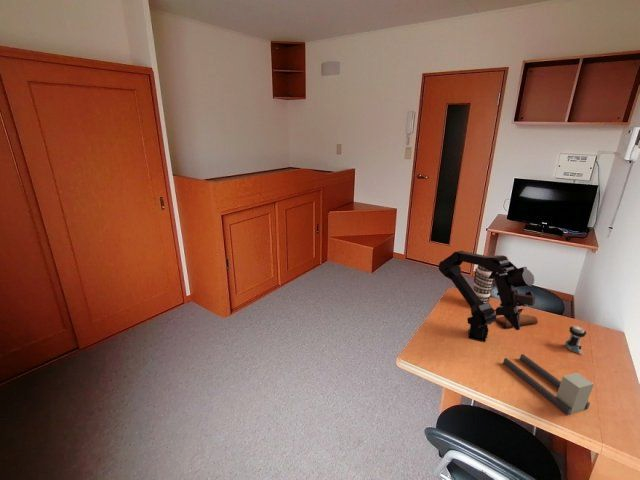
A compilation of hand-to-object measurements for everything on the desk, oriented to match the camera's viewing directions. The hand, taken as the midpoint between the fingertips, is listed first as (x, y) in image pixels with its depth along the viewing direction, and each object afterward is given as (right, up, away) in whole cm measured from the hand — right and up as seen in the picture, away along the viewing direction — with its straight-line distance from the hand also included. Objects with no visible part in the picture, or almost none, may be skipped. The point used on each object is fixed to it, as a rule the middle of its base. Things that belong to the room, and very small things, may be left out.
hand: (518, 329), depth 120 cm
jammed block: (+5, -19, -18) cm, 27 cm away
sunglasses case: (+16, -5, +29) cm, 33 cm away
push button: (+29, -11, +10) cm, 32 cm away
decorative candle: (+6, 0, +41) cm, 42 cm away
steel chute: (+2, -17, -10) cm, 20 cm away
